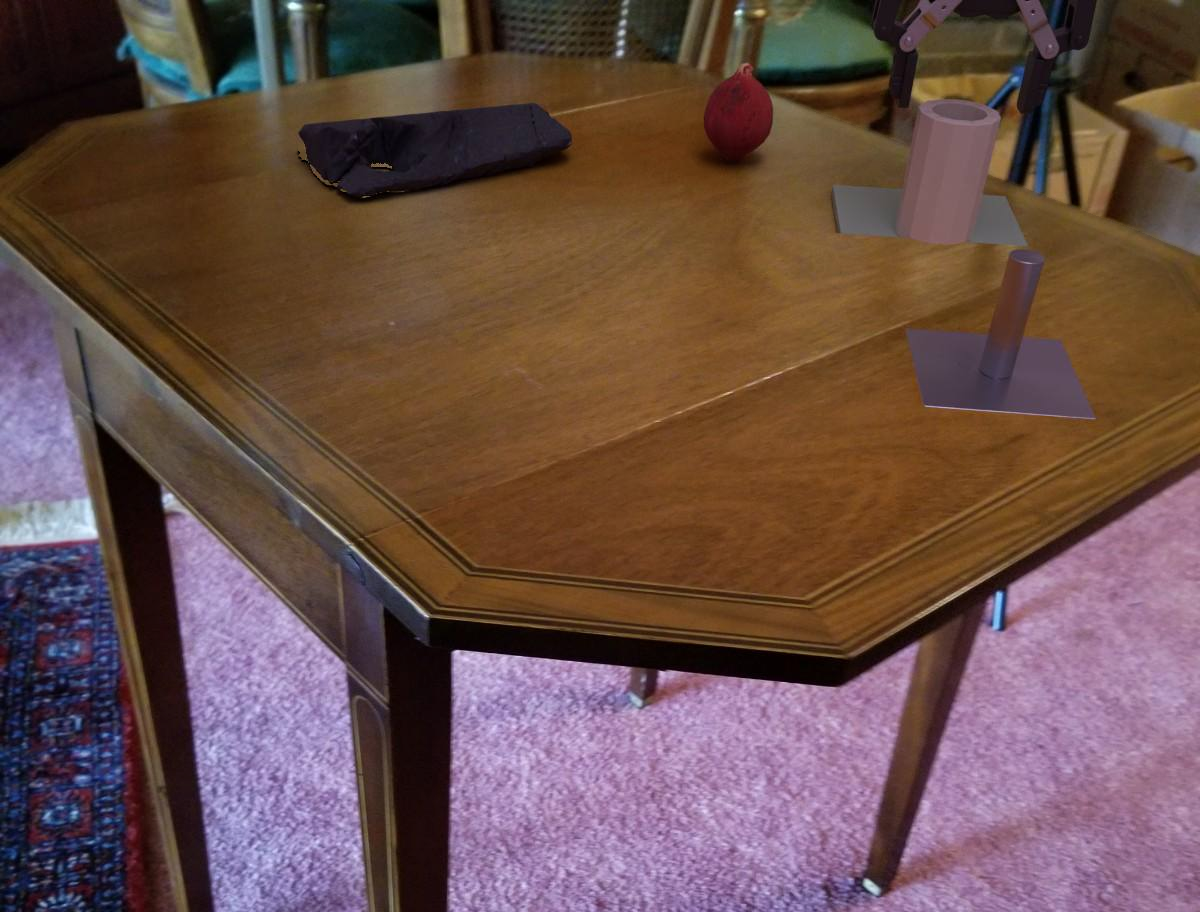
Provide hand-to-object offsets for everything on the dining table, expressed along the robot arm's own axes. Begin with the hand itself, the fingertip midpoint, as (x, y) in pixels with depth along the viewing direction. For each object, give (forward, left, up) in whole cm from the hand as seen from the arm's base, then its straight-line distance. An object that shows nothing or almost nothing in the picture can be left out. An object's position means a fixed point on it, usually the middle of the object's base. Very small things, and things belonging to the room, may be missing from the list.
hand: (962, 108), depth 85 cm
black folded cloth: (+40, -11, -10) cm, 43 cm away
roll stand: (-1, +22, -10) cm, 24 cm away
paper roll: (0, 0, -9) cm, 9 cm away
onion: (+15, -15, -10) cm, 24 cm away
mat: (0, 0, -10) cm, 10 cm away
